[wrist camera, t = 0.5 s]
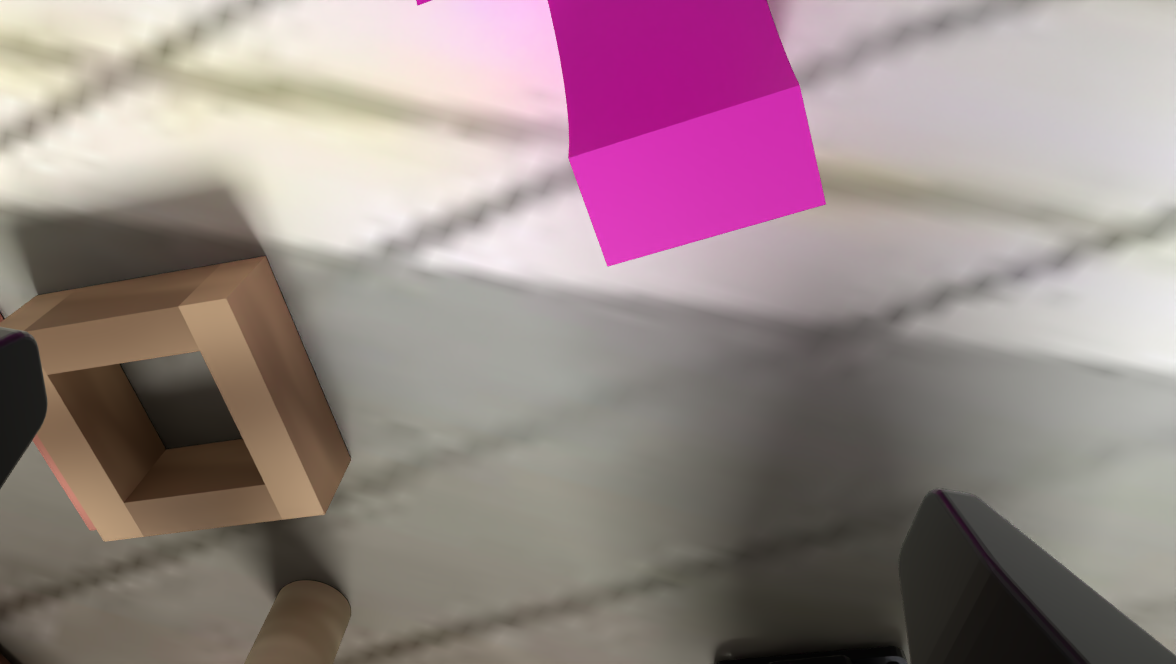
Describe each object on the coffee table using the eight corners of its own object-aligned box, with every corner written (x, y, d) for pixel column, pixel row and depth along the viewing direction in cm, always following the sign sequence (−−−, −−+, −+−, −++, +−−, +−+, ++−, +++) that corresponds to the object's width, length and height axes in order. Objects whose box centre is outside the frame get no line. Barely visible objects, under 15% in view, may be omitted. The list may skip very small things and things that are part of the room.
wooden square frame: (361, 484, 27) (337, 540, 25) (100, 517, 28) (55, 573, 26) (265, 256, 23) (226, 298, 21) (-31, 307, 25) (-97, 351, 22)
